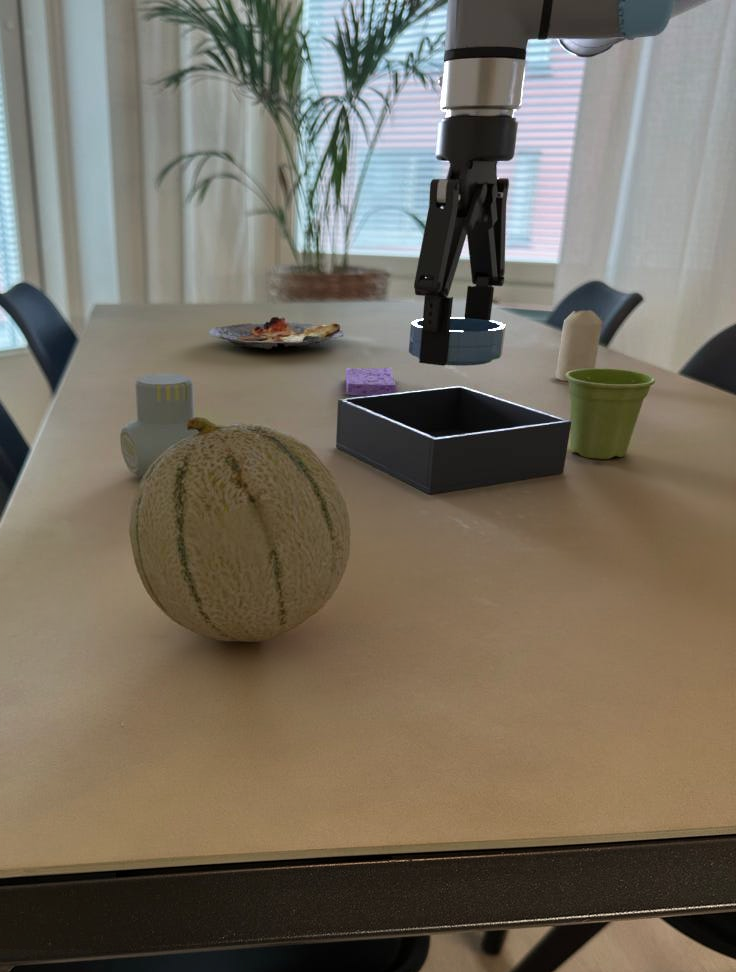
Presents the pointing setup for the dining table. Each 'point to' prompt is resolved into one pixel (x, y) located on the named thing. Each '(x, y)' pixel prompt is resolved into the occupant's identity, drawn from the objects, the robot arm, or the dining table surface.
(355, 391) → the sponge
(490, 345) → the blue round bowl
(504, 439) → the tub
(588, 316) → the candle
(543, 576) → the dining table surface
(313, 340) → the food plate
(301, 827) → the dining table surface
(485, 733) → the dining table surface
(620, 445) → the plant pot
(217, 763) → the dining table surface
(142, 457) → the air freshener
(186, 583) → the cantaloupe
